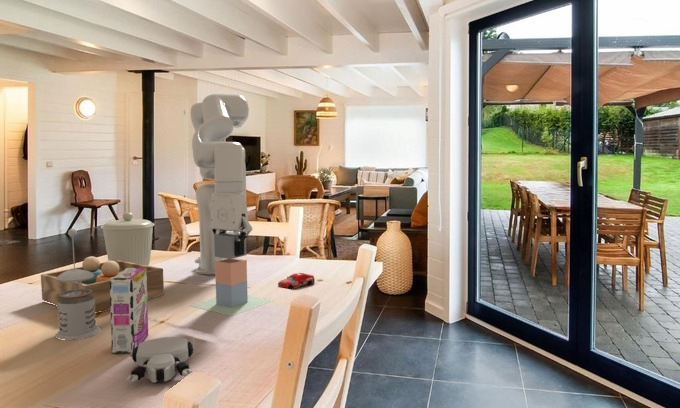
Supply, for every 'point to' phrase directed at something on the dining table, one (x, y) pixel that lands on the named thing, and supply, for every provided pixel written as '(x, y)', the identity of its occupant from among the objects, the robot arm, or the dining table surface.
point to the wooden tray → (100, 285)
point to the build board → (232, 311)
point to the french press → (76, 305)
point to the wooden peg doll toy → (101, 275)
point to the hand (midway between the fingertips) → (230, 253)
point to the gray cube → (226, 245)
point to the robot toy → (161, 358)
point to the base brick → (231, 294)
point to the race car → (296, 281)
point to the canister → (128, 239)
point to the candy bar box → (128, 309)
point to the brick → (231, 271)
